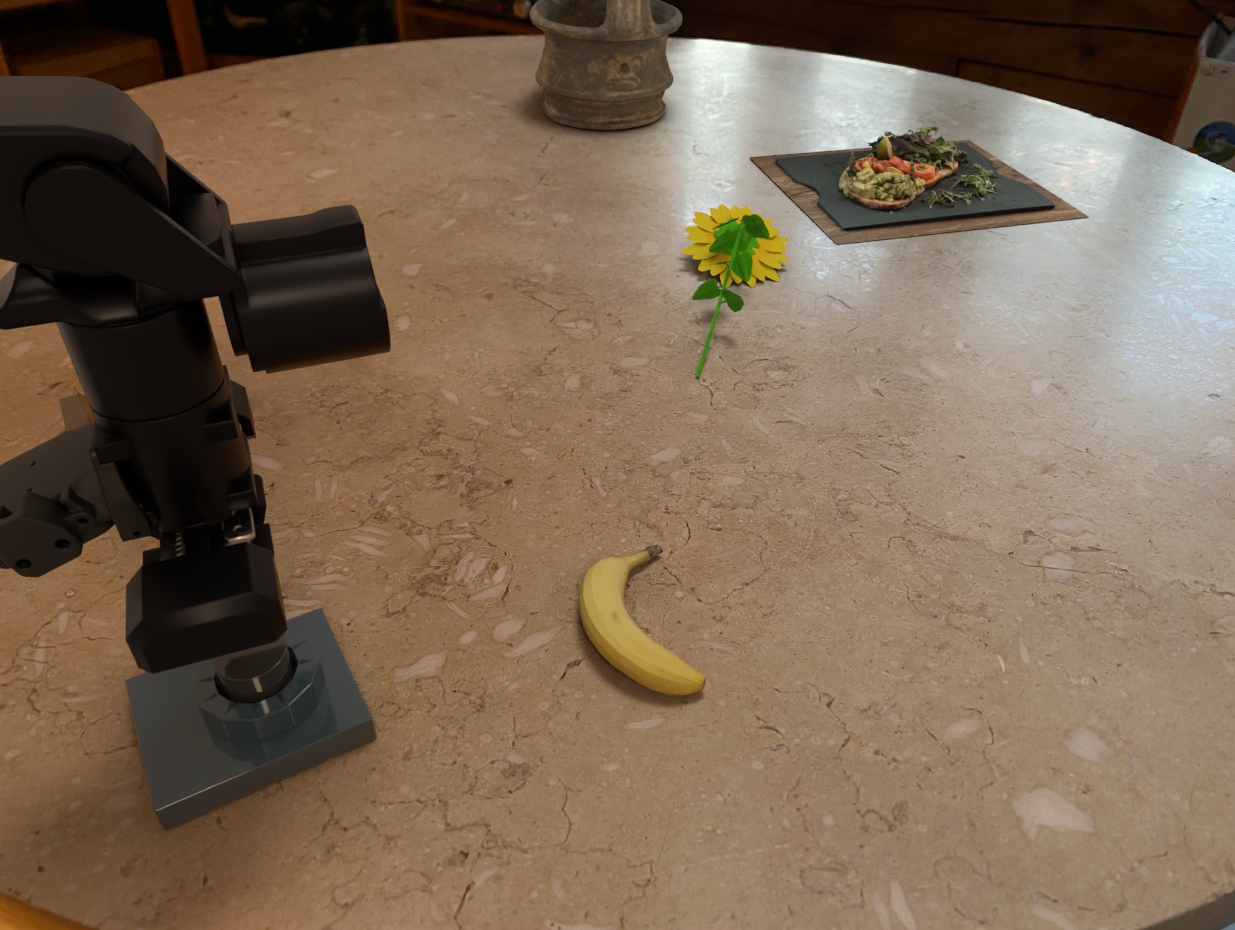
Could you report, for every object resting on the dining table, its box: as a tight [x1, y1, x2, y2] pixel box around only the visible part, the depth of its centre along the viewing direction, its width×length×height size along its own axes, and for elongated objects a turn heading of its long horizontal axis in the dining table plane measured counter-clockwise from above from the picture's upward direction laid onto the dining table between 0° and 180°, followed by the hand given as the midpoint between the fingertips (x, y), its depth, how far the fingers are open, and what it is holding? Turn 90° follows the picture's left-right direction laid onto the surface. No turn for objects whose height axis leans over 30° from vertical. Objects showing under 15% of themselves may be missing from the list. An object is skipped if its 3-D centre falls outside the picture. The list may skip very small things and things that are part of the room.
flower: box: [680, 203, 790, 379], centre depth 96 cm, size 12×9×30 cm
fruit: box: [579, 544, 707, 696], centre depth 62 cm, size 7×13×3 cm, turn 14°
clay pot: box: [529, 0, 683, 131], centre depth 134 cm, size 22×23×30 cm
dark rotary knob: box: [213, 635, 293, 703], centre depth 54 cm, size 4×4×2 cm
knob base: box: [124, 607, 378, 831], centre depth 56 cm, size 12×10×4 cm
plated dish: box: [749, 125, 1089, 245], centre depth 121 cm, size 35×28×7 cm
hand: (237, 619), depth 52 cm, fingers closed
